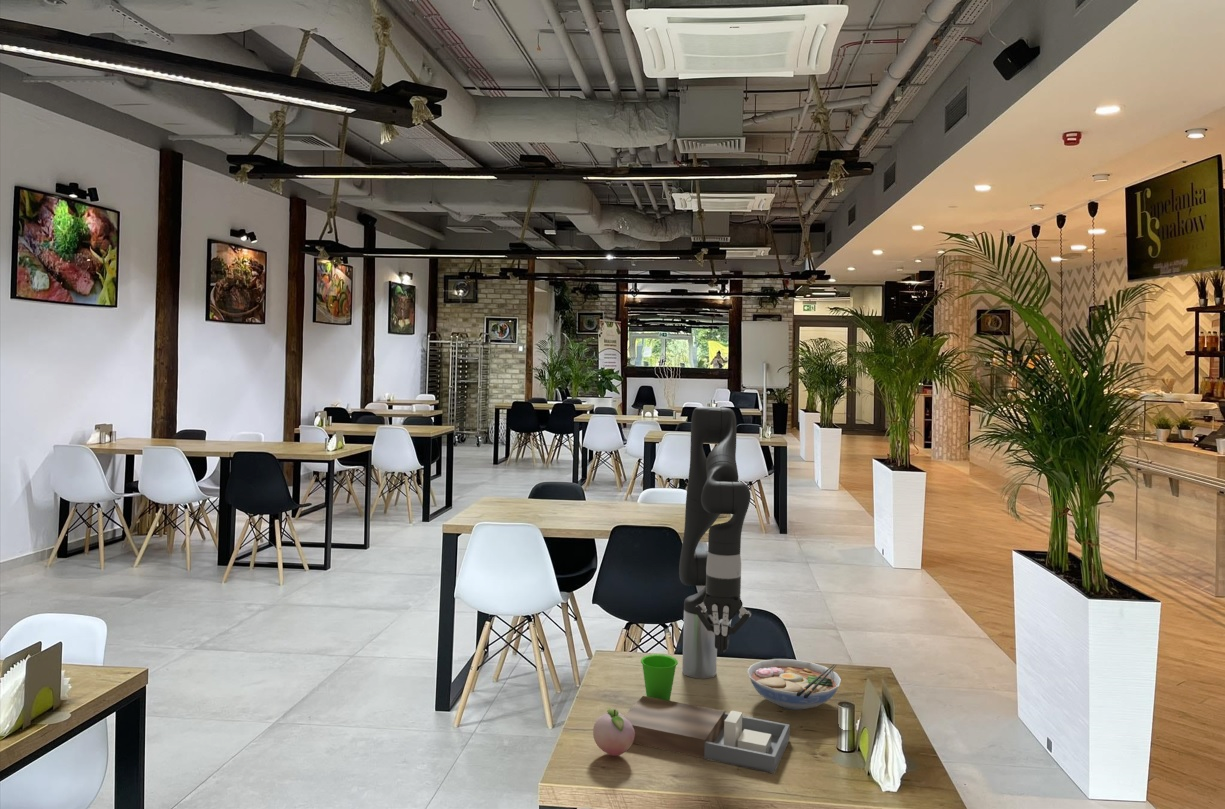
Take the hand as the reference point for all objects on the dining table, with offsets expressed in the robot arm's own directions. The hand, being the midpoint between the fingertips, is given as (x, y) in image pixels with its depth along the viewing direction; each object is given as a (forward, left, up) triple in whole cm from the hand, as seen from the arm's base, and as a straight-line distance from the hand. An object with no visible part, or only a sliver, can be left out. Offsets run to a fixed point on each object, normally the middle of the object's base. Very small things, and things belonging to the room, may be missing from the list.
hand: (721, 650), depth 175 cm
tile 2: (0, +8, -18) cm, 19 cm away
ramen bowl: (-28, +11, -21) cm, 37 cm away
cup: (-13, -19, -21) cm, 31 cm away
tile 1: (0, +2, -17) cm, 17 cm away
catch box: (0, +6, -21) cm, 21 cm away
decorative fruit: (+16, -19, -21) cm, 32 cm away
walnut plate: (0, -11, -21) cm, 23 cm away
